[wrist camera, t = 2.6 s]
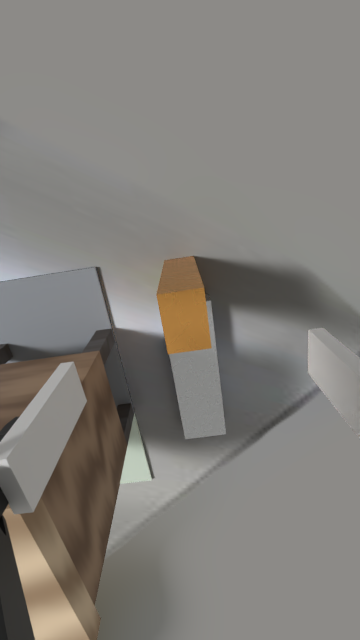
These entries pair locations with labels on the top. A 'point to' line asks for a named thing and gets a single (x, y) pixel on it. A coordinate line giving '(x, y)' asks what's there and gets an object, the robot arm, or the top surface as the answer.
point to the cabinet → (68, 494)
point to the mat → (67, 336)
